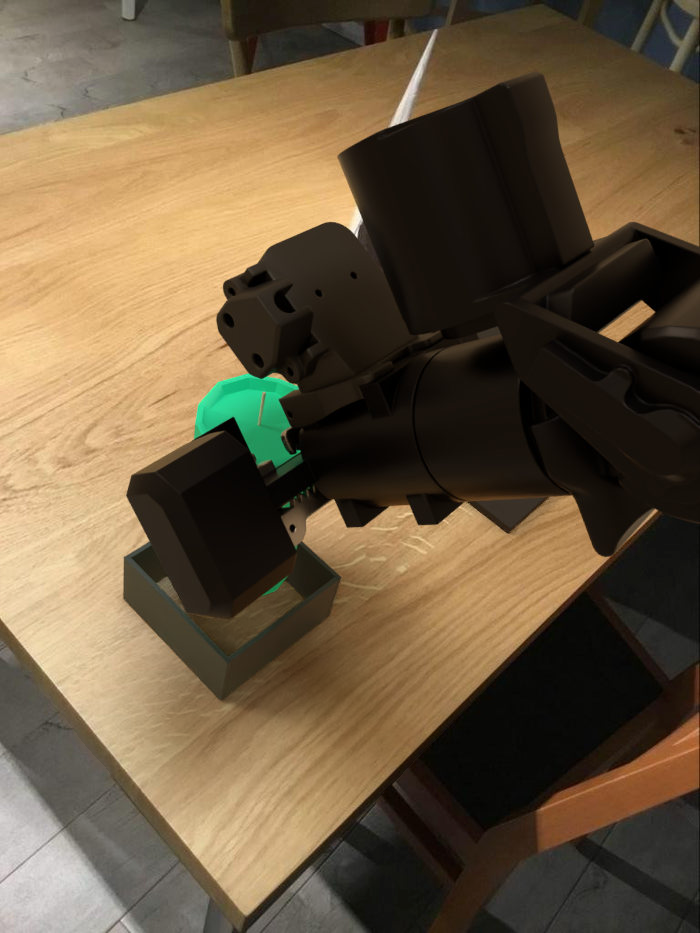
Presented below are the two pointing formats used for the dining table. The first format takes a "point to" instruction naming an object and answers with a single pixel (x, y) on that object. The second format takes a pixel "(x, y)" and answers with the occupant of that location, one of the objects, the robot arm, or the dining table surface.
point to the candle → (250, 416)
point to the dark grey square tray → (198, 648)
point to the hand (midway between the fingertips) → (232, 457)
